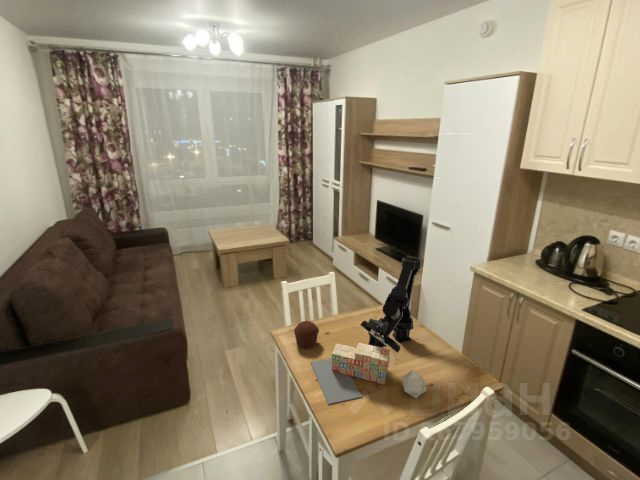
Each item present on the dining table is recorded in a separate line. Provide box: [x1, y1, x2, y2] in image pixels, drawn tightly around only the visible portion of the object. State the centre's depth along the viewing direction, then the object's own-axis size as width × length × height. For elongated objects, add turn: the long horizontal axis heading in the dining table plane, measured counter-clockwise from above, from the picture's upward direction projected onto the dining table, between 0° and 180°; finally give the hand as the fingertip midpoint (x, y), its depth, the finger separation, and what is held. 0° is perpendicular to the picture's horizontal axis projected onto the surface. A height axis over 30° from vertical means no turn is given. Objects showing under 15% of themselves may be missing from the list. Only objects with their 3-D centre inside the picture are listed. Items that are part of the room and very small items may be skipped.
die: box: [400, 369, 428, 399], centre depth 124 cm, size 8×9×10 cm
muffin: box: [293, 320, 320, 349], centre depth 153 cm, size 12×11×10 cm
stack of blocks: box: [331, 342, 391, 386], centre depth 132 cm, size 21×6×12 cm, turn 71°
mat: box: [309, 357, 363, 406], centre depth 132 cm, size 13×24×1 cm, turn 17°
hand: (367, 353), depth 134 cm, fingers closed
